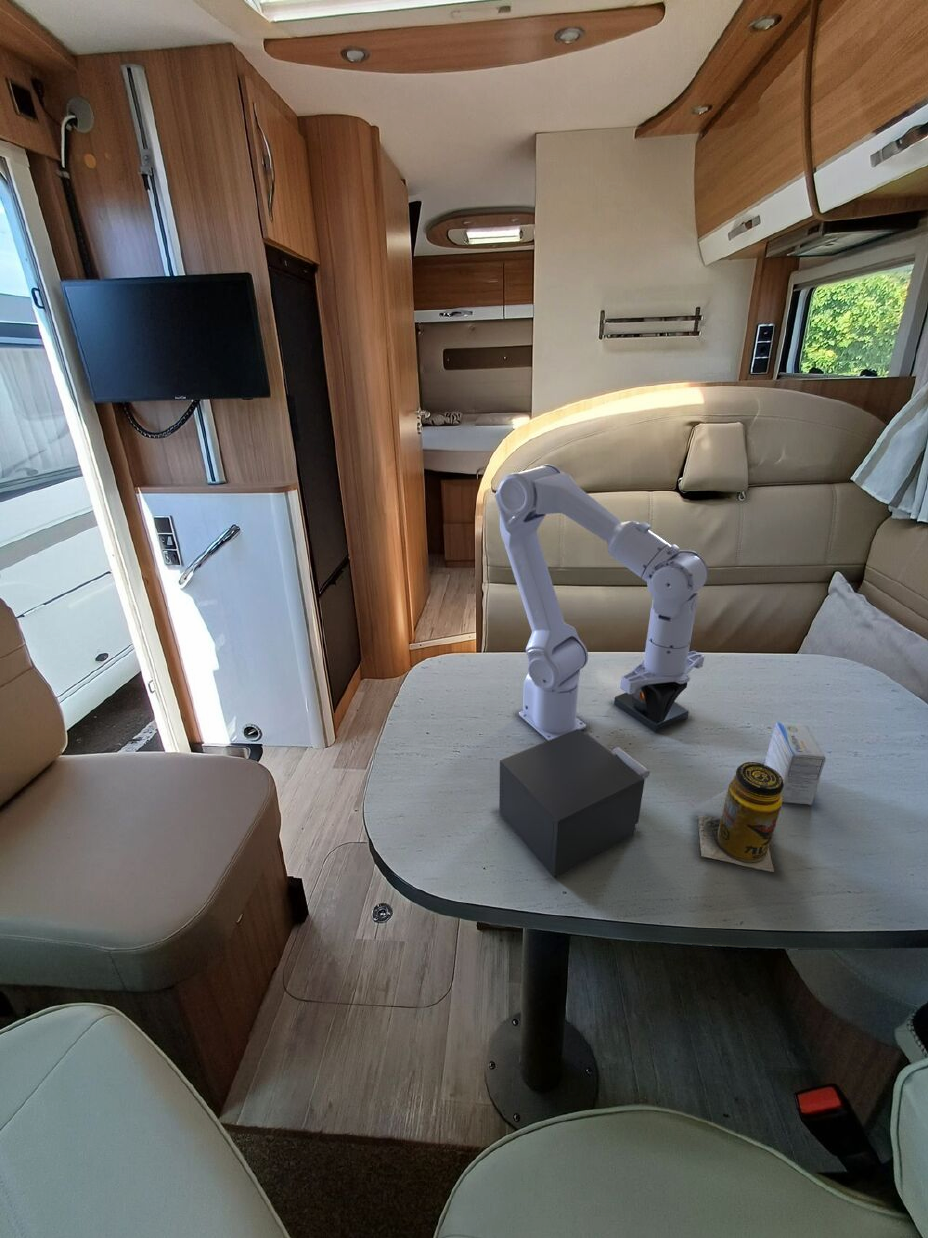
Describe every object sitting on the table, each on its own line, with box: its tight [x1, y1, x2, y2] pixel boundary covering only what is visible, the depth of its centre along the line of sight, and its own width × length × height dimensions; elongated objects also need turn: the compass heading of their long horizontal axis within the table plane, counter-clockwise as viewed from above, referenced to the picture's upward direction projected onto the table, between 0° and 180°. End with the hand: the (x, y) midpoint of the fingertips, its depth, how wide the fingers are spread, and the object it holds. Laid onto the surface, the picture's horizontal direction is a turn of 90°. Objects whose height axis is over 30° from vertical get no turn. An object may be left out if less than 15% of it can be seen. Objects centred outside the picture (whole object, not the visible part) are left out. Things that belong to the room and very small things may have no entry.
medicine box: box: [764, 721, 826, 806], centre depth 81 cm, size 8×4×9 cm, turn 168°
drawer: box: [584, 732, 651, 825], centre depth 77 cm, size 17×11×8 cm
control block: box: [613, 688, 690, 734], centre depth 100 cm, size 10×8×4 cm
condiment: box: [697, 761, 784, 873], centre depth 71 cm, size 7×8×12 cm
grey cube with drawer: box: [498, 729, 642, 879], centre depth 75 cm, size 14×13×10 cm
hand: (655, 718), depth 83 cm, fingers closed
